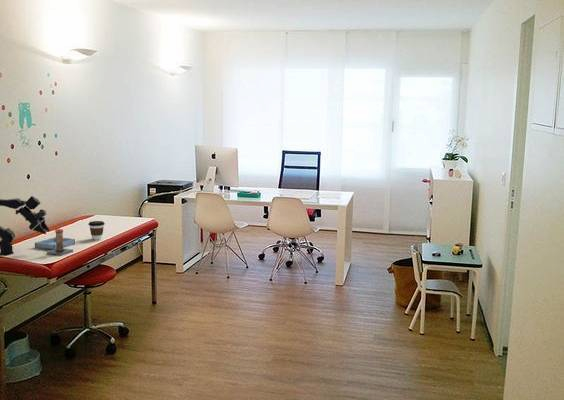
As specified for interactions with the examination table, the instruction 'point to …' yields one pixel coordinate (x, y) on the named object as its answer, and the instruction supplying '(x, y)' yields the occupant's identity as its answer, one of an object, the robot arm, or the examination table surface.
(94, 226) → the coffee cup
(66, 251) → the plate
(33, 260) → the examination table surface
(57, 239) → the pin
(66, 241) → the pin tray
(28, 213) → the robot arm
